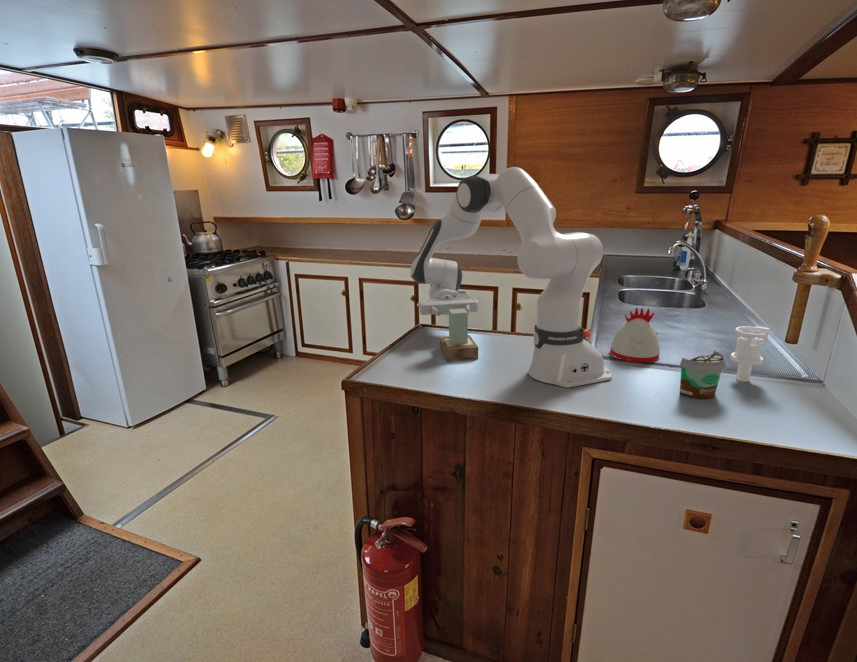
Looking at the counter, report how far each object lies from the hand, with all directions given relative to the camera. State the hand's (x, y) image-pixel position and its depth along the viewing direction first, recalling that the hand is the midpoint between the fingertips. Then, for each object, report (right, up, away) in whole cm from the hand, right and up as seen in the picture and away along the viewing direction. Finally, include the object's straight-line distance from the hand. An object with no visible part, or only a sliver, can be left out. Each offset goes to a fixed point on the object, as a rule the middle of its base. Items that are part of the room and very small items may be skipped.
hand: (452, 312), depth 156 cm
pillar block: (+1, -9, -5) cm, 11 cm away
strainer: (+76, -19, -28) cm, 84 cm away
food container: (+61, -22, -37) cm, 75 cm away
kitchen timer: (+56, -14, -9) cm, 58 cm away
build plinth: (+2, -13, -4) cm, 14 cm away
